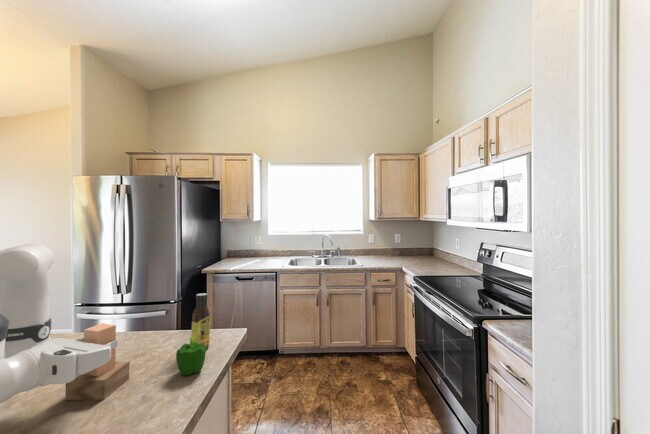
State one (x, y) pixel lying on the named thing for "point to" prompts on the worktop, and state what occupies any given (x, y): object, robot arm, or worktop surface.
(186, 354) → the bell pepper
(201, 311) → the sauce bottle
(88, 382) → the walnut block
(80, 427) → the worktop surface
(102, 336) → the terracotta block
